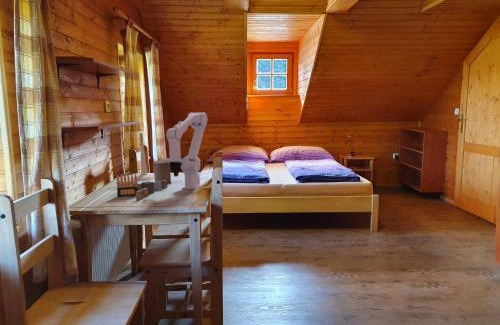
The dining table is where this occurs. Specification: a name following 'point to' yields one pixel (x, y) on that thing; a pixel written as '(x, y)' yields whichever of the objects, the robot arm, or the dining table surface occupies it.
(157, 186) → the door
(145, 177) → the candlestick
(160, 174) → the pillar candle
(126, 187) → the ammunition clip
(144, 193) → the brown wooden bar
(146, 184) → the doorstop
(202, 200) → the dining table surface
